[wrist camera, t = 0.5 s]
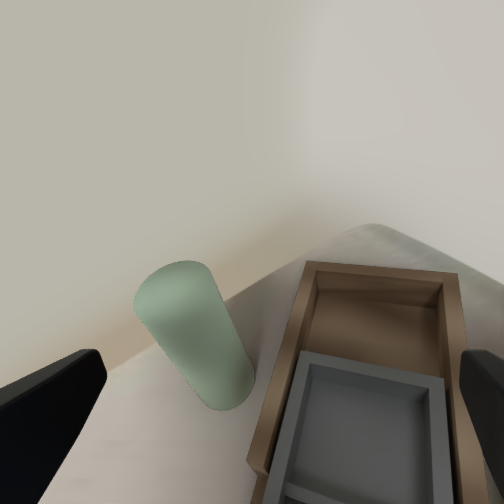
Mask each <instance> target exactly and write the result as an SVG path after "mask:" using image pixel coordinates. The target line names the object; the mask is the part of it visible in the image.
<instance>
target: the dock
mask: <svg viewBox="0 0 504 504" xmlns="http://www.w3.org/2000/svg"><path fill="white" fill-rule="evenodd" d="M301 350H303V351H308V352H313V353H318V354H323V355H328V356H333V357H338V358H343V359H348V360H353V361H358V362H364V363H369V364H374V365H379V366H384V367H389V368H394V369H399V370H404V371H409V372H414V373H419V374H424V375H429V376H434V377H440V378H444V387H445V400H446V413H447V426H448V439H449V452H450V465H451V478H452V491H453V504H489V497H488V490H487V482H486V475H485V468H484V461H483V454H482V449H481V446H480V443H479V441H478V438H477V435H476V433H475V430H474V427H473V424H472V422H471V419H470V416H469V413H468V411H467V408H466V405H465V403H464V400H463V397H462V394H461V391H460V387H459V373H460V361H461V354H462V352H463V351H464V350H468V346H467V339H466V332H465V324H464V317H463V310H462V303H461V296H460V289H459V281H458V274H457V273H446V272H434V271H422V270H410V269H398V268H386V267H375V266H363V265H351V264H339V263H327V262H315V261H307V262H306V265H305V268H304V272H303V275H302V278H301V281H300V285H299V288H298V291H297V295H296V298H295V301H294V305H293V308H292V311H291V314H290V318H289V321H288V324H287V328H286V331H285V334H284V337H283V341H282V344H281V347H280V351H279V354H278V357H277V360H276V364H275V367H274V370H273V374H272V377H271V380H270V384H269V387H268V390H267V393H266V397H265V400H264V403H263V407H262V410H261V413H260V416H259V420H258V423H257V426H256V430H255V433H254V436H253V439H252V443H251V446H250V449H249V453H248V456H247V459H246V462H247V463H248V464H249V465H250V467H251V468H252V469H253V471H254V472H255V473H256V474H257V476H258V478H257V481H256V485H255V489H254V492H253V496H252V500H251V503H250V504H262V501H263V497H264V493H265V489H266V485H267V482H268V478H269V474H270V470H271V466H272V462H273V458H274V454H275V450H276V446H277V442H278V438H279V434H280V430H281V426H282V422H283V418H284V415H285V411H286V407H287V403H288V399H289V395H290V391H291V387H292V383H293V379H294V375H295V371H296V367H297V363H298V359H299V355H300V352H301Z"/></svg>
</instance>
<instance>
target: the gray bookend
mask: <svg viewBox="0 0 504 504" xmlns="http://www.w3.org/2000/svg"><path fill="white" fill-rule="evenodd" d="M262 504H453V491H452V478H451V465H450V452H449V439H448V426H447V413H446V400H445V387H444V378H440V377H434V376H429V375H424V374H419V373H414V372H409V371H404V370H399V369H394V368H389V367H384V366H379V365H374V364H369V363H364V362H358V361H353V360H348V359H343V358H338V357H333V356H328V355H323V354H318V353H313V352H308V351H303V350H301V352H300V355H299V359H298V363H297V367H296V371H295V375H294V379H293V383H292V387H291V391H290V395H289V399H288V403H287V407H286V411H285V415H284V418H283V422H282V426H281V430H280V434H279V438H278V442H277V446H276V450H275V454H274V458H273V462H272V466H271V470H270V474H269V478H268V482H267V485H266V489H265V493H264V497H263V501H262Z"/></svg>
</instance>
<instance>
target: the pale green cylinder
mask: <svg viewBox="0 0 504 504" xmlns="http://www.w3.org/2000/svg"><path fill="white" fill-rule="evenodd" d="M134 310H135V313H136V315H137V316H138V317H139V319H140V320H141V321H142V323H143V324H144V325H145V327H146V328H147V329H148V330H149V332H150V333H151V334H152V336H153V337H154V338H155V339H156V341H157V342H158V344H159V345H160V346H161V347H162V349H163V350H164V351H165V353H166V354H167V355H168V357H169V358H170V359H171V360H172V362H173V363H174V364H175V366H176V367H177V368H178V370H179V371H180V372H181V374H182V375H183V376H184V377H185V379H186V380H187V381H188V383H189V384H190V385H191V387H192V388H193V389H194V391H195V392H196V393H197V394H198V396H199V397H200V398H201V400H202V401H203V402H204V403H205V404H206V405H207V406H208V407H210V408H212V409H215V410H229V409H232V408H234V407H236V406H238V405H240V404H241V403H242V402H243V401H244V400H245V399H246V398H247V397H248V396H249V394H250V392H251V391H252V388H253V385H254V380H255V375H254V370H253V367H252V365H251V362H250V360H249V358H248V356H247V353H246V351H245V349H244V346H243V344H242V342H241V340H240V337H239V335H238V333H237V331H236V328H235V326H234V324H233V321H232V319H231V317H230V315H229V312H228V310H227V308H226V306H225V303H224V301H223V299H222V297H221V294H220V292H219V290H218V287H217V285H216V283H215V281H214V279H213V277H212V274H211V272H210V270H209V269H208V268H207V267H206V266H205V265H204V264H202V263H200V262H196V261H179V262H175V263H172V264H169V265H166V266H164V267H162V268H160V269H158V270H157V271H155V272H154V273H153V274H151V275H150V276H149V277H148V278H147V279H146V280H145V281H144V282H143V283H142V284H141V286H140V287H139V289H138V291H137V292H136V295H135V298H134Z"/></svg>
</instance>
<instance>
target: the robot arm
mask: <svg viewBox="0 0 504 504" xmlns="http://www.w3.org/2000/svg"><path fill="white" fill-rule="evenodd" d="M106 380H107V371H106V368H105V366H104V363H103V360H102V358H101V355H100V353H99V351H97V350H96V349H82V350H79V351H77V352H75V353H73V354H71V355H69V356H67V357H65V358H63V359H60V360H58V361H56V362H54V363H52V364H50V365H48V366H46V367H44V368H42V369H40V370H38V371H36V372H33V373H31V374H30V375H27V376H25V377H23V378H21V379H19V380H17V381H15V382H13V383H11V384H9V385H6V386H5V387H2V388H0V504H38V502H39V500H40V499H41V497H42V496H43V494H44V492H45V491H46V489H47V487H48V486H49V484H50V482H51V481H52V479H53V477H54V476H55V474H56V473H57V471H58V469H59V468H60V466H61V464H62V463H63V461H64V459H65V458H66V456H67V454H68V453H69V451H70V449H71V448H72V446H73V445H74V443H75V441H76V439H77V438H78V436H79V434H80V432H81V430H82V428H83V426H84V424H85V423H86V421H87V419H88V417H89V415H90V413H91V411H92V409H93V407H94V405H95V403H96V401H97V399H98V397H99V395H100V393H101V391H102V389H103V387H104V385H105V383H106ZM459 387H460V391H461V394H462V397H463V400H464V403H465V405H466V408H467V411H468V413H469V416H470V419H471V422H472V424H473V427H474V430H475V433H476V435H477V438H478V441H479V443H480V446H481V449H482V452H483V454H484V457H485V460H486V462H487V465H488V467H489V470H490V472H491V474H492V476H493V479H494V481H495V483H496V485H497V487H498V489H499V491H500V493H501V495H502V497H503V499H504V360H503V359H501V358H499V357H498V356H496V355H494V354H492V353H491V352H489V351H487V350H464V351H463V352H462V354H461V361H460V373H459Z"/></svg>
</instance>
